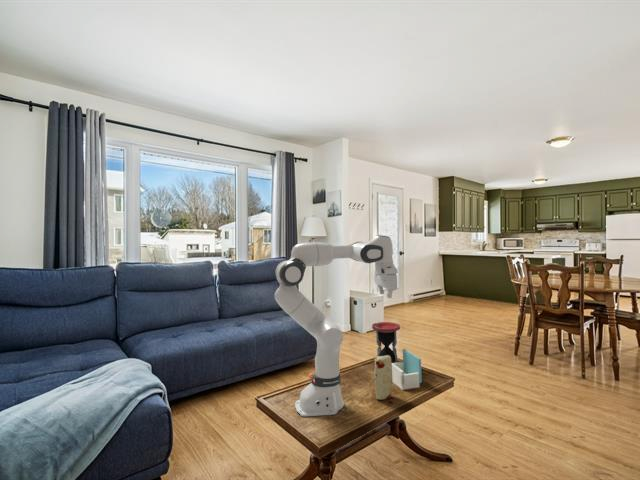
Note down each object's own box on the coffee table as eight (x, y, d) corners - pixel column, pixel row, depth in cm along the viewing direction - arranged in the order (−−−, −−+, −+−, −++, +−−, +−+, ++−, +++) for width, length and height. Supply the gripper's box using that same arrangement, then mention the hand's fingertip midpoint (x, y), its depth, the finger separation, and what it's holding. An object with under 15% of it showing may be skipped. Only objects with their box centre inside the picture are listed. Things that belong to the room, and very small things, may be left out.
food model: (380, 403, 152) (379, 359, 152) (371, 397, 157) (370, 355, 158) (396, 397, 157) (395, 355, 157) (387, 392, 162) (385, 351, 163)
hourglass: (387, 360, 205) (385, 320, 205) (407, 368, 191) (405, 325, 192) (367, 367, 196) (366, 324, 196) (387, 375, 182) (386, 330, 182)
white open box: (402, 389, 164) (401, 371, 165) (386, 376, 181) (386, 360, 181) (419, 387, 167) (418, 369, 167) (402, 374, 183) (402, 358, 183)
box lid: (419, 382, 167) (418, 359, 167) (403, 370, 183) (402, 349, 183) (423, 382, 168) (422, 358, 168) (406, 370, 184) (405, 348, 184)
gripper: (370, 265, 172) (371, 292, 173) (386, 271, 152) (387, 301, 153) (382, 264, 173) (383, 290, 174) (399, 270, 153) (400, 299, 154)
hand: (385, 295), depth 163 cm, fingers open, 8 cm apart
